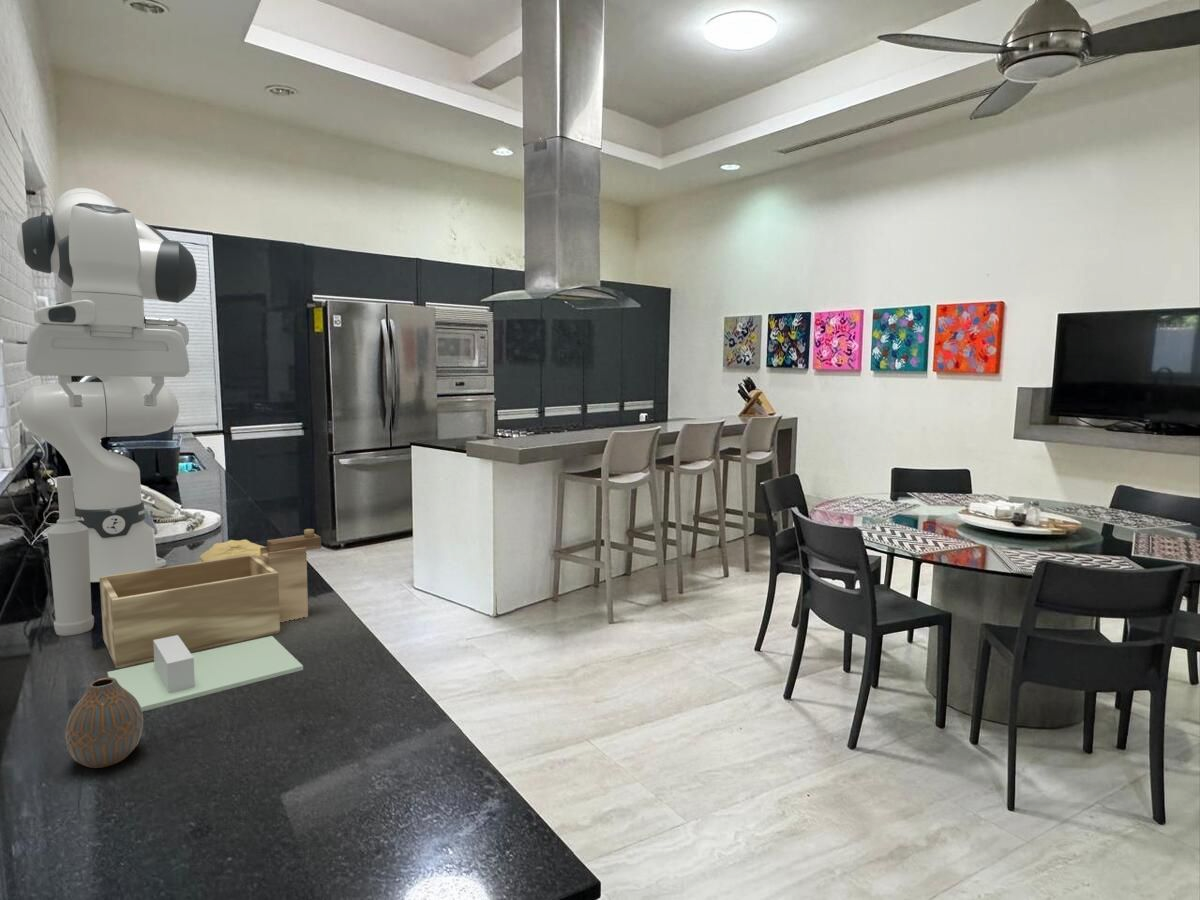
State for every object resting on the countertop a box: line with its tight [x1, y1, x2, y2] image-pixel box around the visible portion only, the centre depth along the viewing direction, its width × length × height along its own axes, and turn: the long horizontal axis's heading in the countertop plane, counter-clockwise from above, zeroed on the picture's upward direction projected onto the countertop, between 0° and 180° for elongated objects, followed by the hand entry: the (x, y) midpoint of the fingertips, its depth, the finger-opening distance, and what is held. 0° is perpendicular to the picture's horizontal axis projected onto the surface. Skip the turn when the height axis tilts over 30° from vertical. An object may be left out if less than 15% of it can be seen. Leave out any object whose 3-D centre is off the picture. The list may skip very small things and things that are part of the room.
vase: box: [64, 677, 144, 769], centre depth 75 cm, size 7×7×9 cm
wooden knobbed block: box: [266, 528, 322, 553], centre depth 119 cm, size 3×8×3 cm, turn 132°
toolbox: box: [99, 546, 309, 670], centre depth 111 cm, size 14×28×12 cm, turn 132°
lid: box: [107, 635, 304, 713], centre depth 97 cm, size 14×21×5 cm
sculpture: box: [198, 539, 265, 562], centre depth 129 cm, size 12×12×11 cm
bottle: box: [46, 475, 95, 637], centre depth 110 cm, size 5×5×25 cm
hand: (114, 406), depth 106 cm, fingers open, 8 cm apart
